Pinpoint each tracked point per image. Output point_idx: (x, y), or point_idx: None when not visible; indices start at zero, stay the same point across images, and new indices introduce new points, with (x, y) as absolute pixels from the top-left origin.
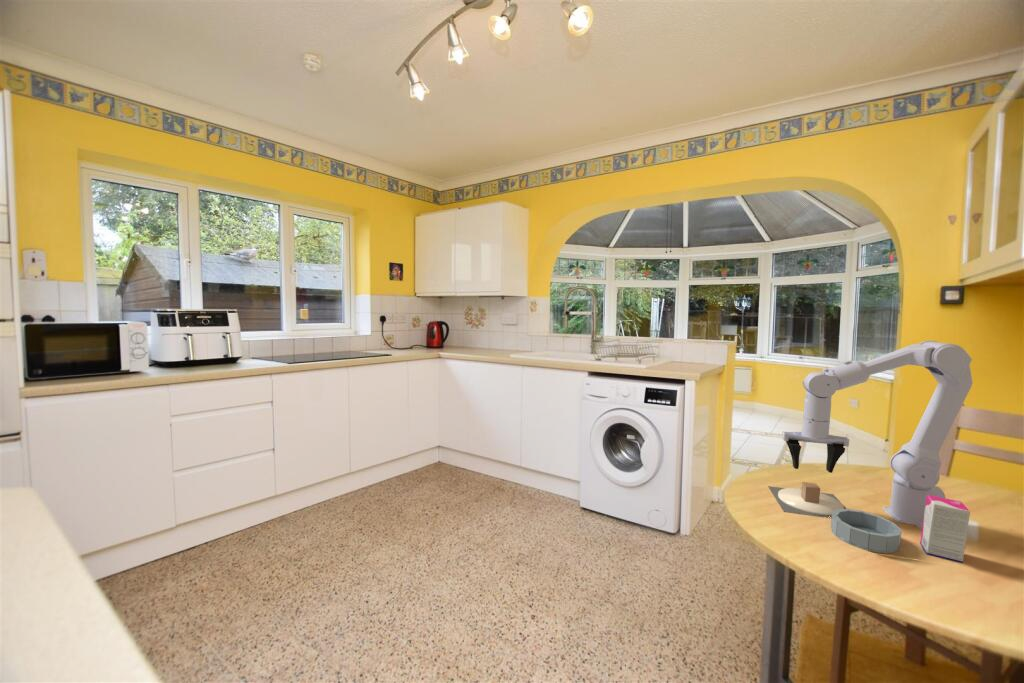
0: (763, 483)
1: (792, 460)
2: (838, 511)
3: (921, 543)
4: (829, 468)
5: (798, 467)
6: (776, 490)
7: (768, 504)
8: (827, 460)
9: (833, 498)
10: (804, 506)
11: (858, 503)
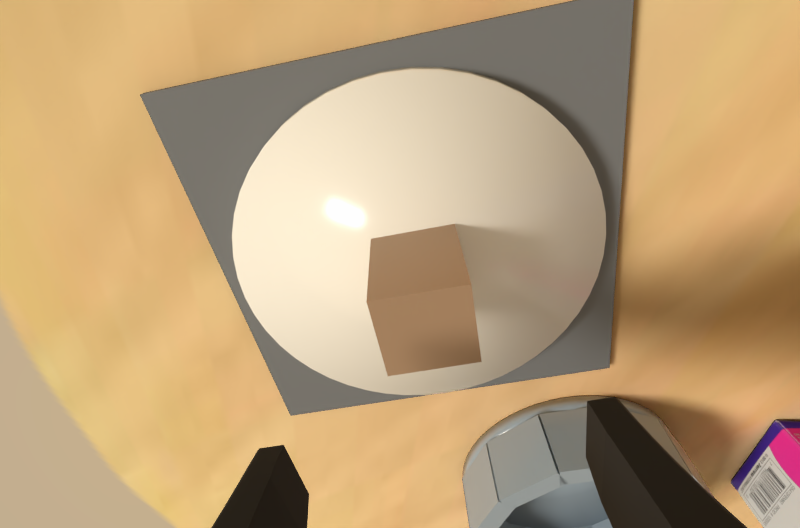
0: (88, 13)
1: (228, 512)
2: (509, 507)
3: (768, 448)
4: (603, 494)
5: (307, 515)
6: (214, 159)
7: (215, 362)
8: (645, 507)
9: (583, 167)
10: (380, 365)
11: (760, 76)
